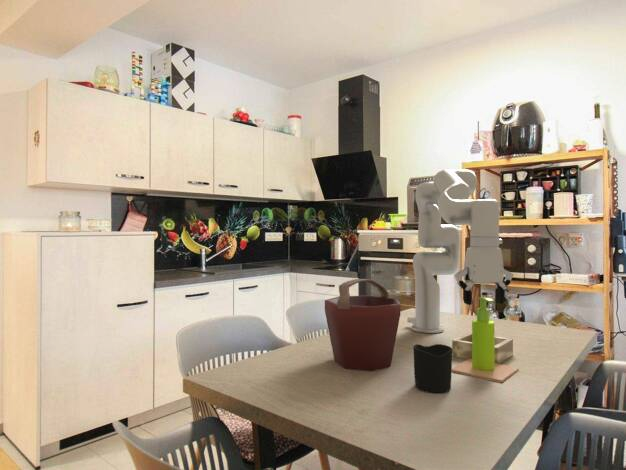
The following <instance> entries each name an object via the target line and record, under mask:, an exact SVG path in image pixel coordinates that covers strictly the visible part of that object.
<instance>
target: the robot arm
mask: <svg viewBox="0 0 626 470" xmlns="http://www.w3.org/2000/svg"><path fill="white" fill-rule="evenodd" d="M432 180H433V181H427V182H426V181H425V182H422V183H420V184H418V185H417V186H416V189H415V194H414V195H415V201H416V205H417V206H416V207H417V210H418V227H417V228H418V229H417V230H418V231H417V242H418V245H419V246H420V247H421V248H423V249H444V251H443V250H441V251H440V250H439V251H437V250H423V251H418V252H417V253H415V254H414V255H413V257H412V267H413V272H414V284H415V285H414V287H415V288H414V290H415V291H414V292H415V293H414V294H415V295H414V296H415V299H414V300H415V301H414V306H415V308H414V309H415V310H414V311H415V312H414V313H415V315H414V317H412V316H411V317H409V316H408V317H407V319H406V321H407V323H410V324H411V323H412V325H411V330H412V331H414V332H418V333H422V334H423V333H424V334H438V333H442V332H444V331H445V328H444V327H443V326H441V325H440V324H441V320H440V319H441V314H440V313H441V302H440V301H441V298H440V297H441V292H440V291H441V289H440V284H439V282H438V281H437V279H436V278H435V277H434V276H447V275H449V276H450V275H451V276H452V275H453V276H454V279H455V281H456V284H457V285H458V286H459V287H460V288H461V289H462V301H463V303H464V304H466V305H468V306H471V305H472V304H473V303H472V302H473V301H472V300H473V299H472V298H473V295H472V293H473V292H472V290H471V289H472V287H473V286H474V285H479V284H480V285H481V284H483V285H484V284H486V285H487V284H493V285H495V286H496V288H495V290H494V291H495V292H494V293H495V297H494V299H495V300H494V303H496V304H497V303H498V304H500V305H504V303H505V301H504V300H505V290H507V288H508V286H509V285H510V284H511V281H512V279H513V277H514V273H512V272H511V271H509V270H507V269H505V268H504V260H503V253H502V249H501V247H500V244H503V242H504V241H503V239H502V238H500V203H499V201H498V200H497V199H493V198H488V199H487V198H483V199H482V198H481V199H469V198H470V196H471V195H473V194H474V192H475V191H476V189H477V187H478V179H477V176H476V174H475V173H474V172H473V171H472V170H469V169H443V170H440V171H438V172H437V173H436V174H435V175H434V176H433V179H432ZM442 219H443V221H445V223H447V224H442ZM457 226H469V228H470V230H469V232H470V235H469V236H470V238H469V242H470V243H469V245H470V246H469V247H467V248H466V250H465V251H466V252H465V257H464V264H463V265H464V266H463V269H462V270H460V271H458V267H459V258H460V257H459V255H460V253H459V252H460V243H461V242H460V238H461V237H460V232H459V229H458V228H457ZM457 271H458V272H457ZM504 276H505V279H504Z"/></svg>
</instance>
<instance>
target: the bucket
mask: <svg viewBox="0 0 626 470" xmlns="http://www.w3.org/2000/svg"><path fill="white" fill-rule="evenodd" d="M362 282H367V283H368V284H370V285H371V286H373V287H375V288H377V291H379V294H380V296H378V295H350V287H353V286H354V285H356V284H359V283H362ZM338 292H339V296H335V297H332V298H328V299H326V300H324V313H325V318H326V323H327V327H328V328H327V329H328V333H329V339H330V346H331V349H332V356H333V359H334V362H335V363H336V364H338V365H339V366H340V367H342V368H344V369H345V370H355V371H362V372H363V371H364V372H373V371H379V370H383V369H387V368H390V367H391V366H392V361H393V354H394V351H395V344H396V339H397V334H398V329H399V322H400V319H401V303H400V301H399V299H397V298H396V297H395V298H394V297H390V293H389V291H388V289H387V288H386V287H385V286H384V285H382V284H381V283H380V282H378V281H377V280H374V279H371V278H369V279H368V278H355V279H354V278H353V279H351V280H348V281H345V282H342V283H341V284H339V285H338Z"/></svg>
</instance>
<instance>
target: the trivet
mask: <svg viewBox="0 0 626 470" xmlns="http://www.w3.org/2000/svg"><path fill="white" fill-rule="evenodd" d="M519 370H520V369H519V367H516V366H511V365H508V364H507V365H505V364H501V363H500V364H497V363H495V369H494V370H492V371H482V370H477V369H474V368H473V367H472V359H466V360H464V361H462V362H461V363H459V364H457V365H455V366H454V367H453V366H452V372H451V373H456V374H461V375H465V376H471V377H474V378H479V379H483V380H489V381H492V382H498V383H504V382H505V381H506V380H508V379H509V378H510V377H512V376H513V375H514V374H516V373H517V372H518V371H519Z"/></svg>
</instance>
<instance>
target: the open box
mask: <svg viewBox="0 0 626 470" xmlns="http://www.w3.org/2000/svg"><path fill="white" fill-rule="evenodd" d="M451 341H452V342H451V344H452V347H451V348H452V357H456V358H460V359H466V360H468V359H472V332H468V333H465V334H463V335H460V336H458V337H457V338H454V339H452V340H451ZM513 355H514V338H509V337H508V338H507V337H501V336H496V335H494V363H497V364H501V363H503V362H504V361H506V360H507V359H509V358H511V357H512V356H513Z"/></svg>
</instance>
